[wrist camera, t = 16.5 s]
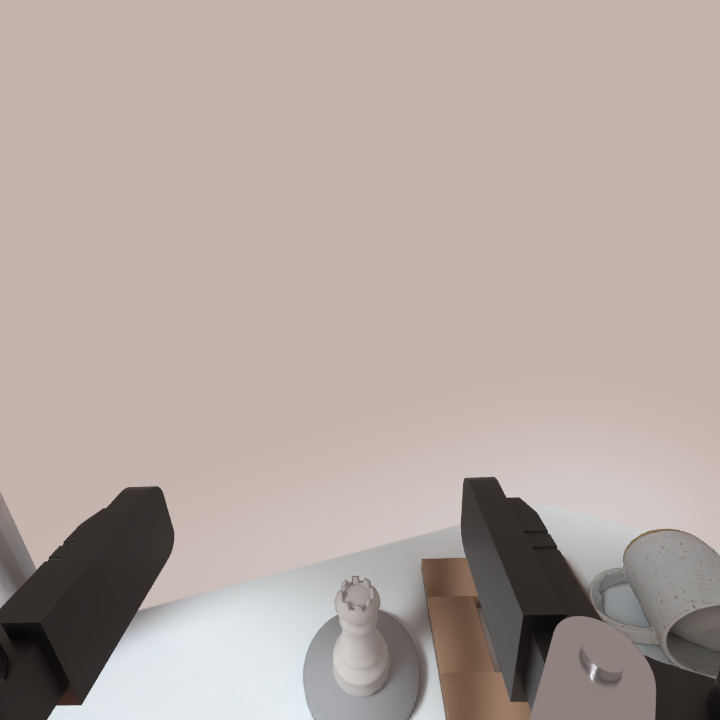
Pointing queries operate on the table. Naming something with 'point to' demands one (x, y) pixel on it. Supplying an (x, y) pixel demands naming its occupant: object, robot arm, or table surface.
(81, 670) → the robot arm
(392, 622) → the slate-grey pad
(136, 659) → the table surface
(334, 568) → the table surface
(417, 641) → the table surface
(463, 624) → the walnut frame
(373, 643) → the rook chess piece
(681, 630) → the ceramic mug
